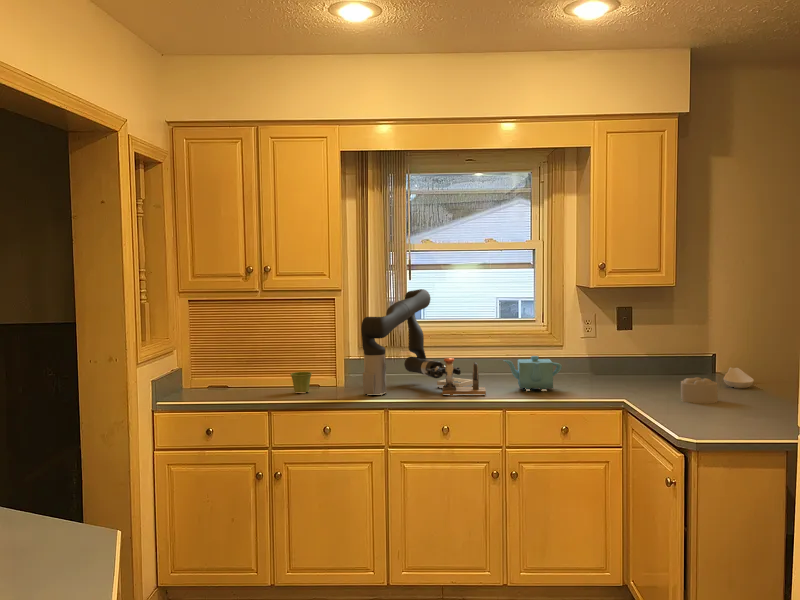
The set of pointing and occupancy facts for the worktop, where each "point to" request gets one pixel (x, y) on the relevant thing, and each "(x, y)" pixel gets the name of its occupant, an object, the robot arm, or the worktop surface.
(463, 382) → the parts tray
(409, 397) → the worktop surface
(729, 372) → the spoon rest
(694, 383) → the beige bumpy block
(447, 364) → the capped test tube
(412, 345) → the robot arm
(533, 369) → the teakettle
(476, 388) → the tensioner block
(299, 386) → the plant pot
